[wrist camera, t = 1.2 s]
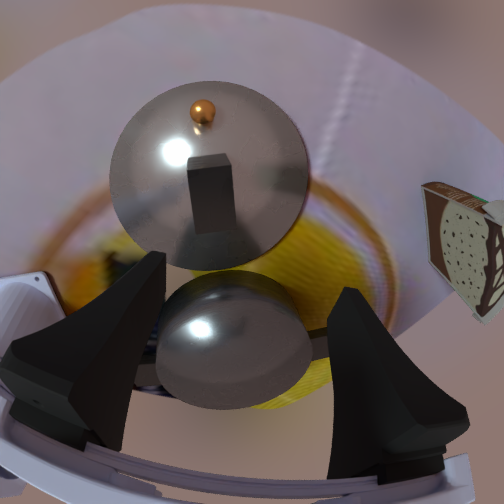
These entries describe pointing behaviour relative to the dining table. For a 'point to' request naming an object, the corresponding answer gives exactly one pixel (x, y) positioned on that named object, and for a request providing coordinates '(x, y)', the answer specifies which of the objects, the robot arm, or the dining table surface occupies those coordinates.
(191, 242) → the cooker lid
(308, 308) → the dining table surface
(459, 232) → the food container
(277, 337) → the cooker pot
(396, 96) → the dining table surface
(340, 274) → the dining table surface
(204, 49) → the dining table surface
